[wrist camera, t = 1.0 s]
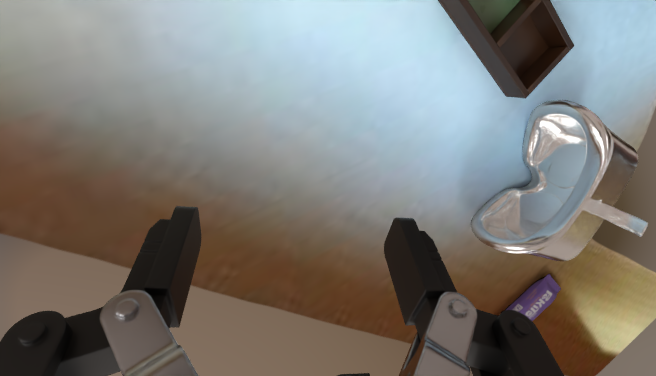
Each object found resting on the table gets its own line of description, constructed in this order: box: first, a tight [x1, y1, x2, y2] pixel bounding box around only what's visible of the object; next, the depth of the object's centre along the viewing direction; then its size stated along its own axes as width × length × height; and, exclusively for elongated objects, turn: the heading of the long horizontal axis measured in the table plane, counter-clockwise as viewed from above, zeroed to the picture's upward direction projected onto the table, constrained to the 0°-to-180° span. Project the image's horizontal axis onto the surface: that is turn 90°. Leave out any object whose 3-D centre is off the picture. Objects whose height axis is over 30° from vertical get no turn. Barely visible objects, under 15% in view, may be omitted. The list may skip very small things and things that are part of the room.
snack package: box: [506, 274, 561, 321], centre depth 52 cm, size 12×2×5 cm
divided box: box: [438, 0, 574, 98], centre depth 35 cm, size 8×14×3 cm, turn 47°
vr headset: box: [471, 100, 648, 261], centre depth 37 cm, size 18×11×14 cm, turn 157°
